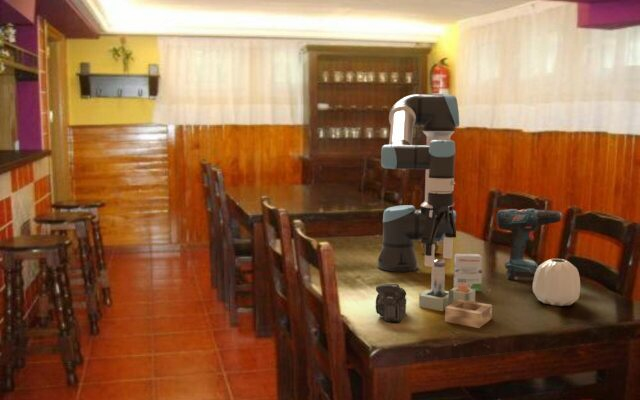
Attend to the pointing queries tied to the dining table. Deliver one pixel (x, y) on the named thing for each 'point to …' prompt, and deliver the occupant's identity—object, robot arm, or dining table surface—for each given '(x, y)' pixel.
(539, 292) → the vase
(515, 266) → the power drill
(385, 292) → the camera
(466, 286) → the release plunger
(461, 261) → the ink box
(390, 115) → the robot arm
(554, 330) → the dining table surface
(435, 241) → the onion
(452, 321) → the block
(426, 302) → the socket block
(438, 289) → the metal peg
